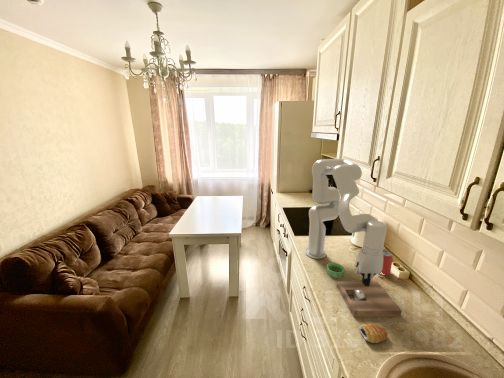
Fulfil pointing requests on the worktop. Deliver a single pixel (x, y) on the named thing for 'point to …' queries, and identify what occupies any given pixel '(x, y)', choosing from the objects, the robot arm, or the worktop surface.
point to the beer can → (387, 262)
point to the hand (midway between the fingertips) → (365, 284)
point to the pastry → (373, 333)
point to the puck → (359, 295)
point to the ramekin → (336, 267)
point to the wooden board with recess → (368, 300)
